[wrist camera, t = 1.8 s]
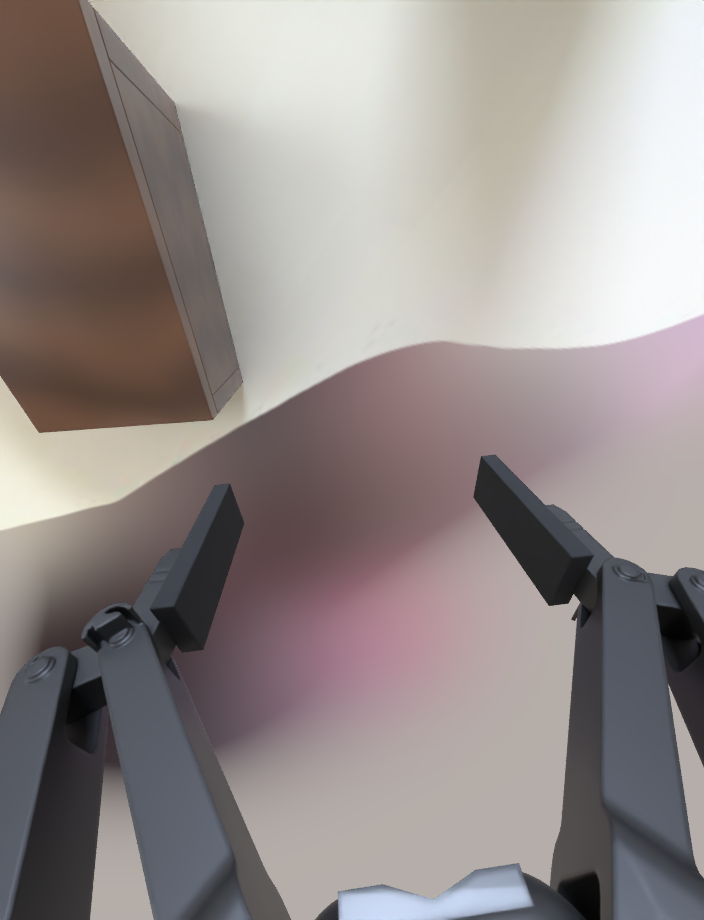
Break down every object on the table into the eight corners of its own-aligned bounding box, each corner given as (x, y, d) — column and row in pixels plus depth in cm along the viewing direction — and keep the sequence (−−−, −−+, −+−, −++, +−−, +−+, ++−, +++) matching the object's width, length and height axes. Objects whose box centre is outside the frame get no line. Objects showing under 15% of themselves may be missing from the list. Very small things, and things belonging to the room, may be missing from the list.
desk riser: (-20, 106, 23) (-268, -18, 13) (174, 102, 24) (72, -20, 14) (117, 390, 35) (38, 433, 26) (242, 382, 36) (212, 420, 26)
